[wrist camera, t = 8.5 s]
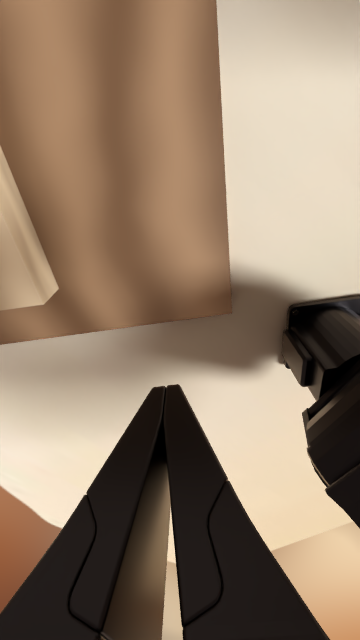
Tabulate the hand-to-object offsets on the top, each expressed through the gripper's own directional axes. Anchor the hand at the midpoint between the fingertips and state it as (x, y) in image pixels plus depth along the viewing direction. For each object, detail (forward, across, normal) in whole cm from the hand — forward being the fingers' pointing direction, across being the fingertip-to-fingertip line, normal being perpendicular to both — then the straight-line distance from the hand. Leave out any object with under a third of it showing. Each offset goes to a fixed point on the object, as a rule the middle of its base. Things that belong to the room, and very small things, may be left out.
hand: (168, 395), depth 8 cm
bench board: (+13, +8, -5) cm, 16 cm away
